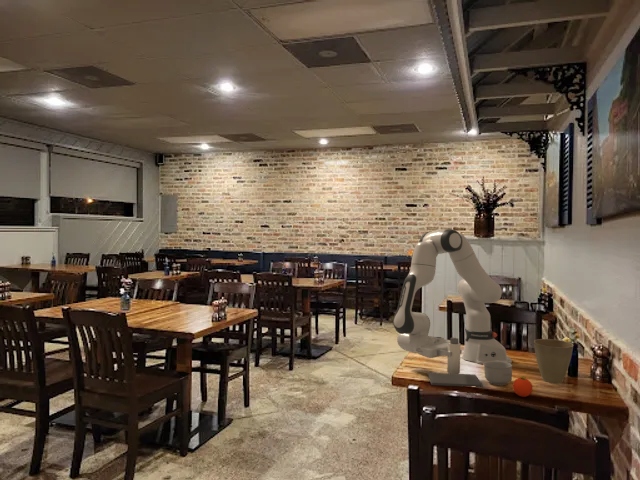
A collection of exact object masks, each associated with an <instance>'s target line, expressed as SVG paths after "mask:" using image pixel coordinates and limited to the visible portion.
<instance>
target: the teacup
mask: <svg viewBox="0 0 640 480" xmlns="http://www.w3.org/2000/svg"><path fill="white" fill-rule="evenodd" d="M483 367H484V368H483V369H484V370H483V371H484V378H485V380H486V381H487V382H489V384H491V385H494V384H495V385H494V386H506V385H508V384H509V383H510V382H512V379H513V365H512V363H507V362H502V361H499V360H497V361H489V362H486V363H484V364H483Z"/></svg>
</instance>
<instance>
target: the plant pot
mask: <svg viewBox="0 0 640 480" xmlns="http://www.w3.org/2000/svg"><path fill="white" fill-rule="evenodd" d="M533 347H534V354H535V358H536V363H537V367H538V371H539V373H540V376H541V378H542V380H543V382H546V383H549V384H550V383H551V384H562V383H563V381H564V379H565V377H566V374H568V373H567V372H568V369H569V367H570V363H571V359H572V356H573V349H574V344H573V343H572V342H569V341H565V340H559V339H552V338H551V339H550V338H540V339H539V338H538V339H534V340H533Z"/></svg>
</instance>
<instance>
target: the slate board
mask: <svg viewBox="0 0 640 480" xmlns="http://www.w3.org/2000/svg"><path fill="white" fill-rule="evenodd" d="M427 378H428V380H429V379H430V380H429V383H430V385H431V386H442V387H443V386H445V387H463V386H476V387H475V388H483V386H484V385H483V383H482V382H481V381H480V379H479V377H478V376H477V375H476V373H475V374H474V373H473V374H472V373H471V374H469V373H459V374H451V373H448V372H447V373H446V372H430V371H429V372H427Z"/></svg>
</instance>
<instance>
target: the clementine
mask: <svg viewBox="0 0 640 480" xmlns="http://www.w3.org/2000/svg"><path fill="white" fill-rule="evenodd" d="M533 388H534V387H533V384H532V382H531V381H530V380H529V379H528V378H526V377H524V376H522V377H518V378H516V379H515V380H514V381H513V383H512V389H513V391H514V393H515V394H516V395H517V396H519V397H520V398H521V397H522V398H525V397H528V396H530V395H531V394H532V392H533Z"/></svg>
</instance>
